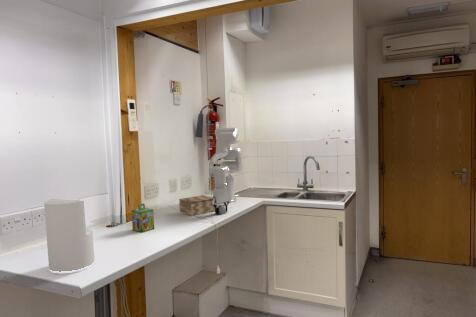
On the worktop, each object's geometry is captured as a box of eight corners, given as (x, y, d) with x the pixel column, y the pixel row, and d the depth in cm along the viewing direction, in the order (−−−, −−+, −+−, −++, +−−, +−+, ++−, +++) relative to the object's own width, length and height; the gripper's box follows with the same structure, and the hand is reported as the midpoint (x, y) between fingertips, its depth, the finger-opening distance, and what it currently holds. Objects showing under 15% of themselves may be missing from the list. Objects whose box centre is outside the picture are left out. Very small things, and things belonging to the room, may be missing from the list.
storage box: (203, 207, 254) (203, 196, 253) (216, 211, 241) (216, 199, 241) (179, 212, 241) (179, 201, 241) (192, 216, 229) (191, 204, 228)
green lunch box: (141, 232, 194) (140, 206, 192) (131, 230, 199) (130, 204, 198) (155, 228, 201) (153, 203, 200) (145, 226, 206) (143, 201, 205)
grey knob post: (222, 211, 238) (222, 204, 238) (227, 213, 233) (227, 205, 233) (215, 213, 234) (214, 206, 234) (220, 214, 230) (220, 207, 229)
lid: (203, 196, 253) (203, 195, 253) (216, 199, 241) (216, 198, 241) (179, 200, 240) (179, 199, 240) (191, 204, 228) (191, 202, 228)
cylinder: (71, 276, 135) (66, 205, 133) (39, 271, 141) (33, 203, 139) (103, 260, 151) (99, 197, 149) (73, 257, 157) (69, 195, 155)
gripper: (227, 184, 241) (228, 209, 242) (206, 187, 230) (207, 213, 231) (234, 185, 235) (235, 211, 236) (213, 188, 224) (214, 215, 225)
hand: (221, 212), depth 234 cm, fingers open, 6 cm apart
